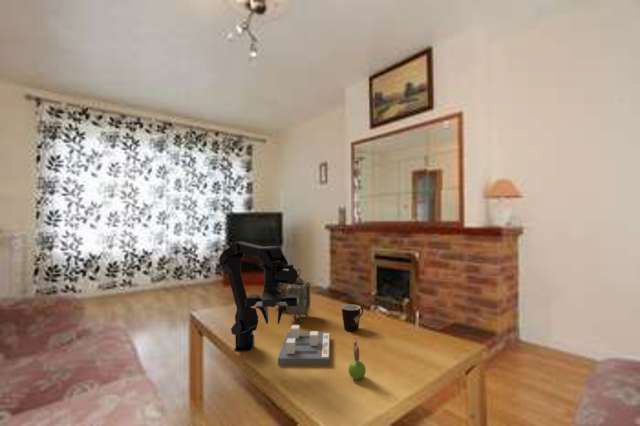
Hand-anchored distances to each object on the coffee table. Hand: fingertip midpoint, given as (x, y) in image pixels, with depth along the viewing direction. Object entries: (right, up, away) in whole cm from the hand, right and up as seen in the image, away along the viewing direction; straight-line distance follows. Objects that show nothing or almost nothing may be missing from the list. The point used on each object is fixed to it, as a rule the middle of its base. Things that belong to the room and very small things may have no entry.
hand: (272, 323), depth 119 cm
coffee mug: (+33, -12, +29) cm, 45 cm away
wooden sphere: (-2, -13, +63) cm, 65 cm away
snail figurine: (+29, -13, -14) cm, 35 cm away
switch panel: (+12, -13, +7) cm, 19 cm away
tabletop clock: (+6, -13, +44) cm, 46 cm away
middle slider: (+15, -10, +7) cm, 19 cm away
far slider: (+7, -10, +14) cm, 19 cm away
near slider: (+7, -10, 0) cm, 12 cm away
